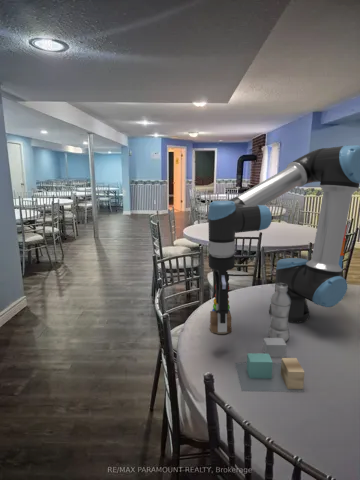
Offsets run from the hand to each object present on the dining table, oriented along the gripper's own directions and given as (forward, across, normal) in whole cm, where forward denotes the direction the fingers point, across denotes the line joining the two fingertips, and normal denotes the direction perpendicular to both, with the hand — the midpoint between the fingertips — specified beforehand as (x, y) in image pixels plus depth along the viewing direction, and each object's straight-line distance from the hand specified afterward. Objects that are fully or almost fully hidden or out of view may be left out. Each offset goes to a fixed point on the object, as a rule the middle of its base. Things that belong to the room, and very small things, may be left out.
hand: (221, 327), depth 92 cm
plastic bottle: (+10, -9, +20) cm, 24 cm away
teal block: (+9, +10, +9) cm, 16 cm away
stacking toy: (+10, -16, +1) cm, 19 cm away
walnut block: (+1, 0, 0) cm, 1 cm away
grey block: (+10, 0, +16) cm, 19 cm away
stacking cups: (+11, -48, +54) cm, 73 cm away
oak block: (+9, +13, +17) cm, 24 cm away
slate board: (+10, +11, +11) cm, 19 cm away
